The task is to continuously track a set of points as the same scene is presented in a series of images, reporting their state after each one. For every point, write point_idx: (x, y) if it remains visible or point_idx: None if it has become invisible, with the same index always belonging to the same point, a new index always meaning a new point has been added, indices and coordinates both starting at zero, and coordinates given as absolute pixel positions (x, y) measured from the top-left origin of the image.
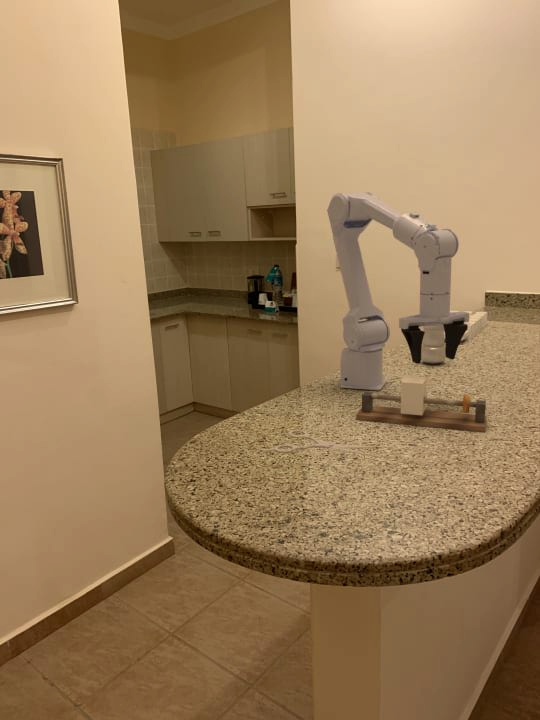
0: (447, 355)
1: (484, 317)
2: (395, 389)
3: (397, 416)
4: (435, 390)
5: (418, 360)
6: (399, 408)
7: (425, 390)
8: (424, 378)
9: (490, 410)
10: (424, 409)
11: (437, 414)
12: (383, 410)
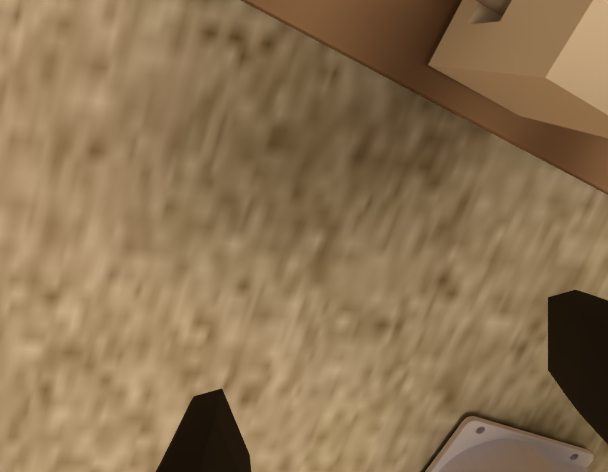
0: (242, 458)
1: None
2: (397, 429)
3: None
4: (238, 410)
5: (601, 298)
6: (521, 140)
7: (507, 34)
8: (583, 35)
9: (34, 107)
10: (461, 9)
11: (375, 4)
12: None
